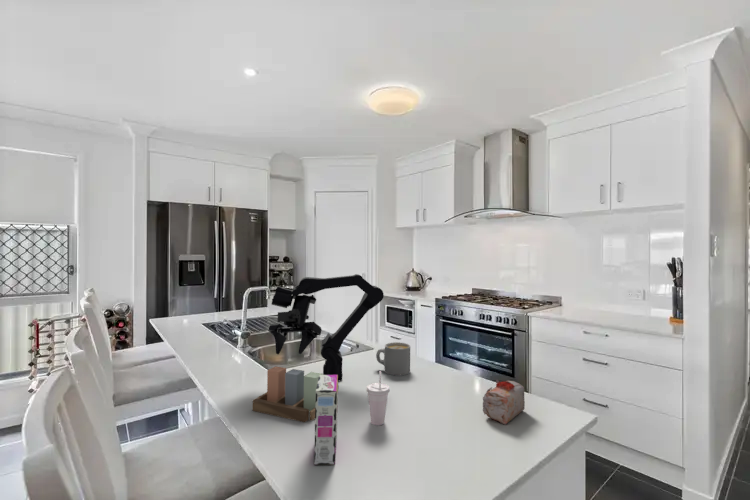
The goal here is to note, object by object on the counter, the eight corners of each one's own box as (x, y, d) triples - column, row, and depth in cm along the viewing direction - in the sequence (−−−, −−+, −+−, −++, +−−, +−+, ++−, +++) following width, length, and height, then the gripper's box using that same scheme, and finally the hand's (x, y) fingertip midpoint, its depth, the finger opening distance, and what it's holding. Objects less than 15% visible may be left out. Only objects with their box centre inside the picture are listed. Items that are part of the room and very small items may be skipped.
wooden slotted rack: (271, 397, 115) (271, 387, 115) (327, 408, 107) (327, 398, 107) (249, 410, 106) (249, 399, 106) (309, 423, 98) (309, 412, 98)
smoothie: (387, 428, 96) (387, 376, 96) (363, 426, 97) (364, 374, 97) (390, 417, 102) (391, 368, 102) (368, 415, 103) (369, 366, 103)
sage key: (310, 404, 110) (311, 371, 110) (322, 406, 108) (322, 373, 108) (303, 410, 106) (303, 376, 106) (315, 412, 104) (315, 378, 104)
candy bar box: (336, 465, 79) (337, 391, 79) (313, 466, 79) (314, 391, 79) (337, 438, 90) (338, 373, 90) (317, 439, 90) (318, 373, 90)
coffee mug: (413, 369, 143) (414, 344, 143) (404, 377, 134) (404, 350, 134) (383, 364, 149) (383, 340, 149) (372, 371, 140) (372, 345, 140)
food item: (507, 428, 97) (508, 391, 97) (480, 418, 102) (480, 383, 102) (527, 412, 107) (527, 379, 107) (501, 404, 112) (501, 372, 112)
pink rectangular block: (275, 397, 114) (275, 366, 114) (285, 399, 113) (286, 368, 113) (267, 402, 111) (267, 370, 110) (277, 405, 109) (278, 372, 109)
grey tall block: (292, 401, 112) (293, 369, 112) (303, 403, 110) (304, 370, 110) (284, 406, 108) (285, 373, 108) (296, 408, 107) (296, 374, 107)
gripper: (265, 302, 127) (251, 345, 118) (309, 298, 119) (297, 344, 110) (283, 316, 135) (271, 357, 126) (326, 313, 127) (316, 356, 118)
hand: (288, 353), depth 120 cm, fingers open, 9 cm apart
